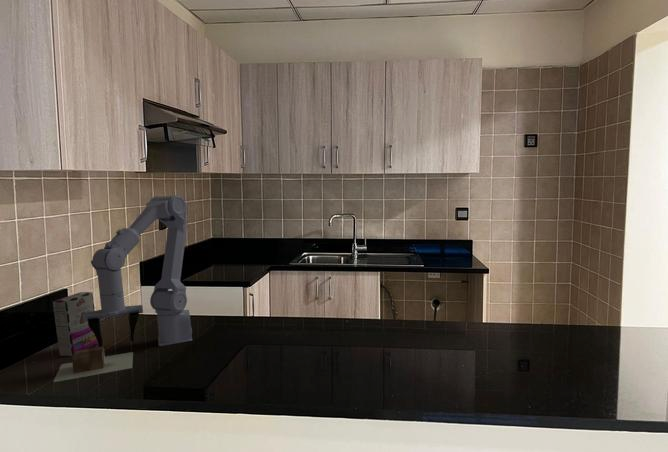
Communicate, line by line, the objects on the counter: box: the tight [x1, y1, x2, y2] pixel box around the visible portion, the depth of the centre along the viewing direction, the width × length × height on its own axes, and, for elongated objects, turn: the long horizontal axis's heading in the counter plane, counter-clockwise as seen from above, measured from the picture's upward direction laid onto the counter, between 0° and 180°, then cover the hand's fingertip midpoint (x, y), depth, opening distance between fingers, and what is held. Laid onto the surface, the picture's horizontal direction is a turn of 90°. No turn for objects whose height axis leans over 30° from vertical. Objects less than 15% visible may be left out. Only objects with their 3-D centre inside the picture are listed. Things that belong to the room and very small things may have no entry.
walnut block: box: [71, 346, 106, 373], centre depth 127 cm, size 4×6×7 cm
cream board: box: [52, 351, 134, 383], centre depth 128 cm, size 18×14×1 cm
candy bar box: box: [52, 291, 99, 357], centre depth 143 cm, size 11×5×16 cm, turn 168°
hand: (116, 343), depth 130 cm, fingers open, 7 cm apart
